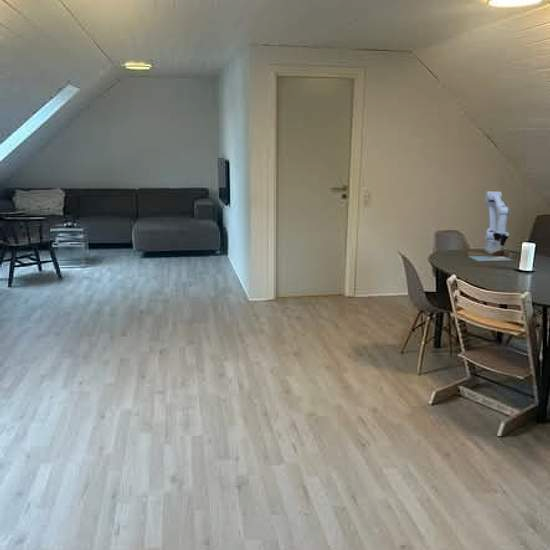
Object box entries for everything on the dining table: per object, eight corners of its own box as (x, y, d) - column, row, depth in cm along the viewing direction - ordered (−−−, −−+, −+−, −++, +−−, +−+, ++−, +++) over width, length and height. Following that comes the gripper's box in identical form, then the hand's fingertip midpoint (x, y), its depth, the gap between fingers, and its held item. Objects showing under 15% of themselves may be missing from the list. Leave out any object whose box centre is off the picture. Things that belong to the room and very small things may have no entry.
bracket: (498, 247, 382) (497, 239, 380) (503, 249, 377) (502, 240, 376) (486, 252, 380) (484, 243, 378) (490, 253, 375) (489, 245, 374)
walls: (467, 256, 385) (467, 250, 384) (503, 255, 388) (503, 250, 387) (477, 261, 370) (478, 255, 369) (515, 260, 372) (516, 254, 372)
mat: (467, 256, 385) (467, 255, 385) (503, 255, 388) (503, 255, 388) (477, 261, 370) (477, 260, 370) (515, 260, 372) (515, 259, 372)
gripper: (489, 223, 381) (487, 243, 385) (503, 226, 368) (501, 247, 371) (498, 223, 383) (496, 242, 386) (512, 226, 370) (510, 246, 373)
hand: (499, 244), depth 379 cm, fingers closed on bracket, 5 cm apart
